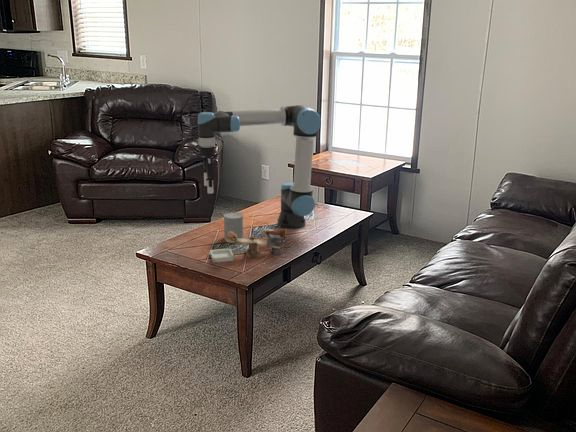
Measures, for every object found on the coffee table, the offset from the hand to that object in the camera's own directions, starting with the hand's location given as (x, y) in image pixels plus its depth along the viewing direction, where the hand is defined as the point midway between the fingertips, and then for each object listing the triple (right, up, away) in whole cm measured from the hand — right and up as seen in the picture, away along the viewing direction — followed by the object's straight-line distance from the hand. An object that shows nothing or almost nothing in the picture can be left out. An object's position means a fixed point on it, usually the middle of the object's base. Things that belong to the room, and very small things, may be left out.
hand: (208, 189), depth 281 cm
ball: (+12, -22, -11) cm, 27 cm away
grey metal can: (+11, -24, +15) cm, 30 cm away
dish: (+7, -32, -9) cm, 34 cm away
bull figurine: (+31, -26, +9) cm, 42 cm away
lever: (+22, -25, -7) cm, 34 cm away
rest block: (+32, -30, -2) cm, 44 cm away
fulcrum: (+22, -31, -5) cm, 38 cm away
